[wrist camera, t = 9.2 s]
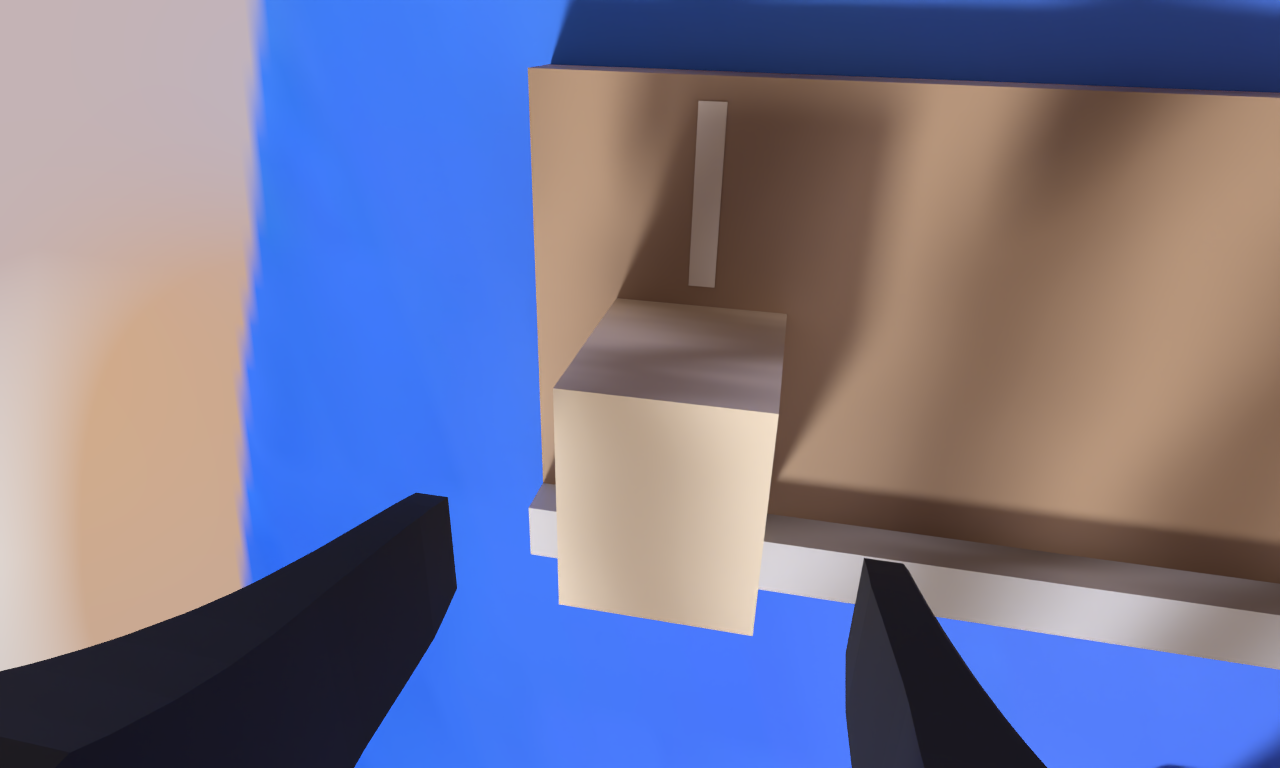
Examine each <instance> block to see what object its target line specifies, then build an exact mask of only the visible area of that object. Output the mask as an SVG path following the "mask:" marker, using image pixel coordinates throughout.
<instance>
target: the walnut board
mask: <svg viewBox="0 0 1280 768" xmlns="http://www.w3.org/2000/svg"><path fill="white" fill-rule="evenodd" d="M528 84H529V111H530V138H531V165H532V192H533V219H534V246H535V274H536V301H537V328H538V355H539V382H540V409H541V436H542V463H543V484H542V486H541V488H540V489H539V491H538V493H537V495H536V496H535V498H534V500H533V501H532V503H531V505H530V507H529V524H530V545H531V554H533V555H540V556H546V557H553V558H558V548H557V513H556V478H555V443H554V407H553V387H554V386H555V385H556V383H557V382H558V380H559V379H560V378H561V376H562V375H563V373H564V372H565V370H566V369H567V368H568V366H569V365H570V363H571V362H572V361H573V359H574V358H575V356H576V355H577V353H578V352H579V351H580V349H581V348H582V346H583V345H584V344H585V342H586V341H587V339H588V338H589V336H590V335H591V334H592V332H593V331H594V329H595V328H596V327H597V325H598V324H599V322H600V321H601V319H602V318H603V317H604V315H605V314H606V312H607V311H608V310H609V308H610V307H611V305H612V304H613V302H614V301H615V300H616V298H620V299H630V300H641V301H652V302H663V303H674V304H685V305H696V306H706V307H717V308H728V309H739V310H750V311H761V312H772V313H782V314H787V321H786V333H785V345H784V357H783V369H782V381H781V393H780V406H779V417H778V425H777V433H776V442H775V450H774V459H773V467H772V476H771V484H770V493H769V501H768V509H767V518H766V526H765V535H764V543H763V552H762V560H761V569H760V577H759V585H758V589H760V590H767V591H773V592H780V593H786V594H793V595H799V596H806V597H812V598H819V599H825V600H832V601H838V602H845V603H851V604H855V602H856V597H857V592H858V587H859V581H860V576H861V571H862V566H863V560H864V558H868V559H875V560H882V561H889V562H896V563H903V564H904V565H905V566H906V568H907V569H908V570H909V572H910V574H911V575H912V577H913V579H914V581H915V583H916V585H917V586H918V588H919V590H920V592H921V593H922V595H923V597H924V599H925V600H926V602H927V604H928V606H929V607H930V609H931V611H932V612H933V614H934V616H936V617H942V618H949V619H955V620H962V621H968V622H975V623H981V624H988V625H994V626H1001V627H1007V628H1014V629H1020V630H1027V631H1033V632H1040V633H1046V634H1053V635H1059V636H1066V637H1072V638H1079V639H1085V640H1092V641H1098V642H1104V643H1111V644H1117V645H1124V646H1130V647H1137V648H1143V649H1150V650H1156V651H1163V652H1169V653H1176V654H1182V655H1189V656H1195V657H1202V658H1208V659H1215V660H1221V661H1228V662H1234V663H1241V664H1247V665H1254V666H1260V667H1267V668H1273V669H1280V93H1272V92H1246V91H1220V90H1195V89H1169V88H1143V87H1118V86H1092V85H1066V84H1040V83H1015V82H989V81H963V80H938V79H912V78H886V77H860V76H835V75H809V74H783V73H758V72H732V71H706V70H680V69H655V68H629V67H603V66H578V65H552V64H549V65H543V66H536V67H530V68H528Z"/></svg>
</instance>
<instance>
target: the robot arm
mask: <svg viewBox="0 0 1280 768" xmlns="http://www.w3.org/2000/svg"><path fill="white" fill-rule="evenodd" d="M456 589H457V584H456V574H455V564H454V554H453V544H452V534H451V525H450V515H449V505H448V497H442V496H435V495H428V494H421V493H415V494H413V495H411V496H409V497H407V498H405V499H403V500H401V501H399V502H398V503H396V504H394V505H392V506H391V507H389V508H387V509H386V510H384V511H382V512H380V513H379V514H377V515H375V516H374V517H372V518H370V519H369V520H367V521H365V522H363V523H362V524H360V525H358V526H357V527H355V528H353V529H352V530H350V531H348V532H346V533H345V534H343V535H341V536H339V537H338V538H336V539H334V540H333V541H331V542H329V543H327V544H326V545H324V546H322V547H320V548H319V549H317V550H315V551H313V552H311V553H310V554H308V555H306V556H304V557H302V558H300V559H298V560H296V561H295V562H293V563H291V564H289V565H287V566H285V567H283V568H281V569H279V570H278V571H276V572H274V573H272V574H270V575H268V576H266V577H264V578H262V579H261V580H258V581H256V582H254V583H252V584H250V585H248V586H246V587H244V588H242V589H240V590H238V591H235V592H233V593H231V594H229V595H227V596H225V597H222V598H220V599H218V600H215V601H213V602H211V603H208V604H206V605H204V606H201V607H199V608H197V609H194V610H192V611H189V612H187V613H185V614H182V615H179V616H176V617H174V618H171V619H168V620H166V621H163V622H160V623H157V624H155V625H152V626H150V627H147V628H144V629H141V630H139V631H136V632H134V633H131V634H128V635H125V636H122V637H119V638H116V639H114V640H110V641H107V642H104V643H101V644H97V645H94V646H91V647H88V648H85V649H82V650H78V651H75V652H71V653H68V654H64V655H61V656H58V657H54V658H51V659H47V660H44V661H40V662H36V663H33V664H29V665H25V666H21V667H17V668H12V669H8V670H4V671H0V768H354V767H355V765H356V763H357V762H358V760H359V758H360V756H361V755H362V753H363V751H364V749H365V748H366V746H367V744H368V743H369V741H370V740H371V738H372V737H373V735H374V733H375V732H376V730H377V729H378V727H379V725H380V724H381V722H382V721H383V719H384V718H385V716H386V714H387V713H388V711H389V710H390V708H391V706H392V705H393V703H394V702H395V700H396V699H397V697H398V695H399V694H400V692H401V691H402V689H403V688H404V686H405V684H406V683H407V681H408V680H409V678H410V676H411V675H412V673H413V672H414V670H415V668H416V667H417V665H418V664H419V662H420V660H421V659H422V657H423V656H424V654H425V652H426V651H427V649H428V647H429V646H430V644H431V642H432V641H433V639H434V637H435V635H436V633H437V631H438V629H439V627H440V625H441V623H442V620H443V618H444V616H445V614H446V612H447V609H448V607H449V605H450V603H451V600H452V598H453V596H454V593H455V591H456ZM846 719H847V729H848V737H849V746H850V755H851V764H852V768H1047V767H1046V766H1045V765H1044V763H1043V762H1042V761H1041V760H1040V759H1039V758H1038V757H1037V756H1036V754H1035V753H1034V752H1033V751H1032V750H1031V749H1030V747H1029V746H1028V745H1027V744H1026V743H1025V742H1024V740H1023V739H1022V738H1021V737H1020V736H1019V734H1018V733H1017V732H1016V731H1015V729H1014V728H1013V727H1012V726H1011V724H1010V723H1009V722H1008V721H1007V719H1006V718H1005V717H1004V716H1003V714H1002V713H1001V712H1000V710H999V709H998V708H997V706H996V705H995V704H994V702H993V701H992V700H991V698H990V697H989V696H988V694H987V693H986V692H985V691H984V689H983V688H982V686H981V685H980V684H979V682H978V681H977V679H976V678H975V677H974V675H973V674H972V672H971V671H970V669H969V668H968V667H967V665H966V664H965V662H964V661H963V659H962V658H961V656H960V655H959V653H958V652H957V650H956V649H955V647H954V646H953V644H952V643H951V641H950V640H949V638H948V637H947V635H946V633H945V632H944V630H943V629H942V627H941V625H940V624H939V622H938V620H937V619H936V617H935V616H934V614H933V612H932V611H931V609H930V607H929V606H928V604H927V602H926V600H925V599H924V597H923V595H922V593H921V592H920V590H919V588H918V586H917V585H916V583H915V581H914V579H913V577H912V575H911V574H910V572H909V570H908V569H907V568H906V566H905V565H904V564H903V563H896V562H889V561H882V560H875V559H868V558H864V560H863V566H862V571H861V576H860V581H859V587H858V592H857V597H856V602H855V607H854V613H853V618H852V623H851V628H850V634H849V639H848V644H847V649H846Z"/></svg>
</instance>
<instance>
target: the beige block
mask: <svg viewBox="0 0 1280 768" xmlns="http://www.w3.org/2000/svg"><path fill="white" fill-rule="evenodd" d="M786 321H787V314H782V313H772V312H761V311H750V310H739V309H728V308H717V307H706V306H696V305H685V304H674V303H663V302H652V301H641V300H630V299H620V298H616V300H615V301H614V302H613V304H612V305H611V307H610V308H609V310H608V311H607V312H606V314H605V315H604V317H603V318H602V319H601V321H600V322H599V324H598V325H597V327H596V328H595V329H594V331H593V332H592V334H591V335H590V336H589V338H588V339H587V341H586V342H585V344H584V345H583V346H582V348H581V349H580V351H579V352H578V353H577V355H576V356H575V358H574V359H573V361H572V362H571V363H570V365H569V366H568V368H567V369H566V370H565V372H564V373H563V375H562V376H561V378H560V379H559V380H558V382H557V383H556V385H555V386H554V387H553V407H554V443H555V478H556V513H557V548H558V583H559V604H561V605H567V606H573V607H579V608H585V609H591V610H597V611H604V612H610V613H616V614H622V615H628V616H634V617H640V618H646V619H652V620H658V621H664V622H670V623H676V624H683V625H689V626H695V627H701V628H707V629H713V630H719V631H725V632H731V633H737V634H743V635H749V636H753V628H754V619H755V611H756V602H757V594H758V585H759V577H760V569H761V560H762V552H763V543H764V535H765V526H766V518H767V509H768V501H769V493H770V484H771V476H772V467H773V459H774V450H775V442H776V433H777V425H778V417H779V406H780V393H781V381H782V369H783V357H784V345H785V333H786Z"/></svg>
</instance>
